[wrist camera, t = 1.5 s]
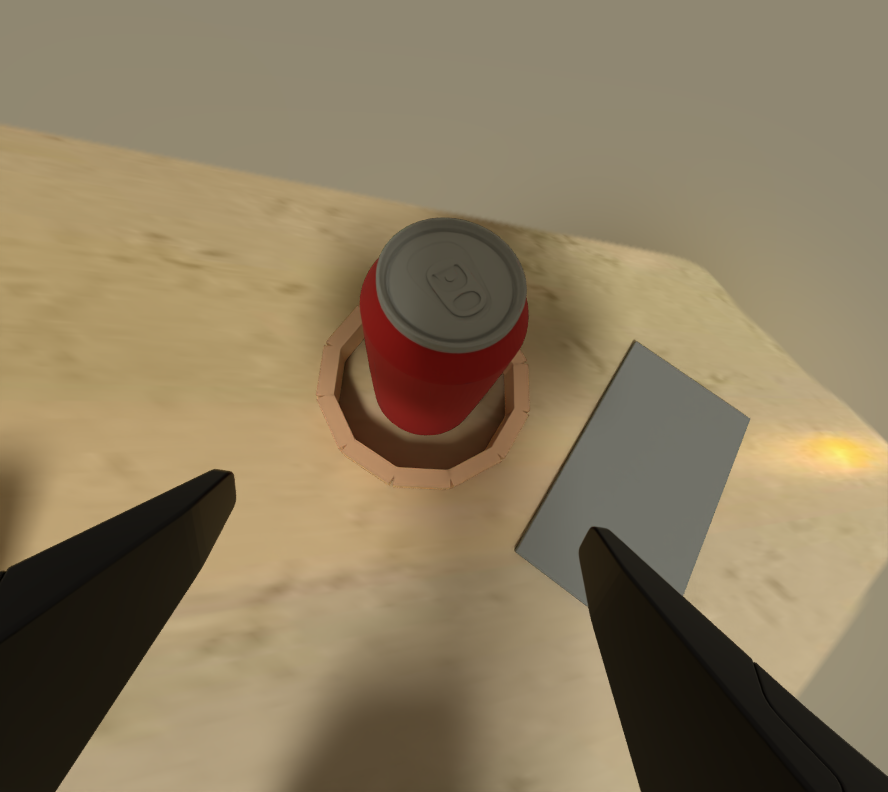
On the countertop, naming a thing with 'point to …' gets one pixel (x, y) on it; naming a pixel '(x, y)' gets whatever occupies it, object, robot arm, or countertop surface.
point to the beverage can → (441, 321)
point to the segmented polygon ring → (496, 450)
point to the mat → (640, 474)
